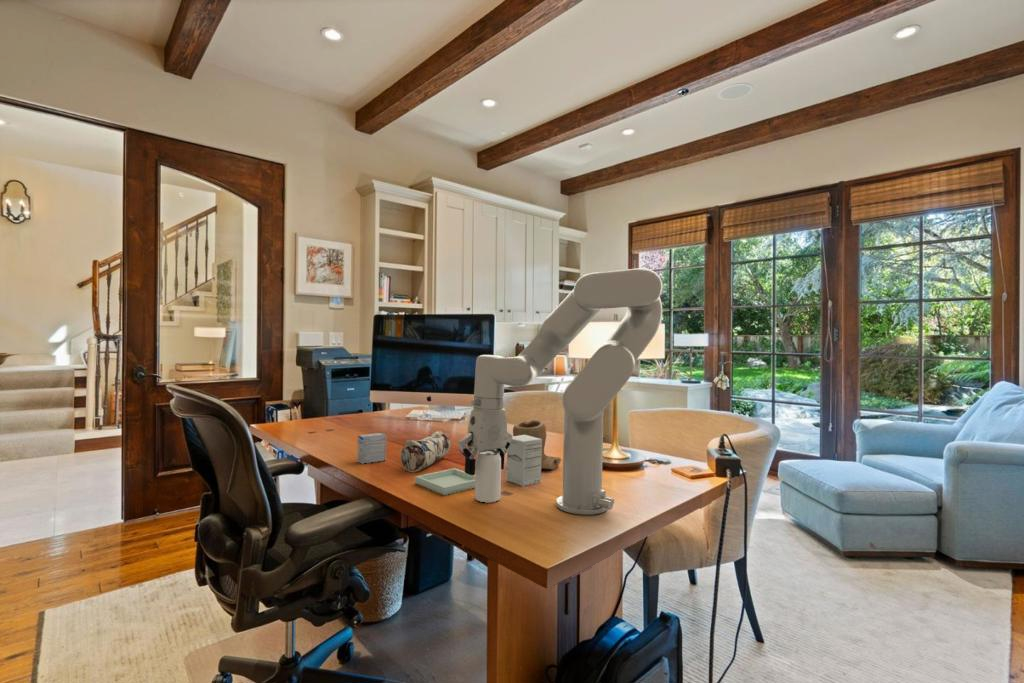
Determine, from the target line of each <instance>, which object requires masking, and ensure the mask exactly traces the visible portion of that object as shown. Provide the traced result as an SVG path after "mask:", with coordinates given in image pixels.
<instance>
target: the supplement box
mask: <svg viewBox="0 0 1024 683" xmlns="http://www.w3.org/2000/svg"><path fill="white" fill-rule="evenodd" d="M512 436H513V435H512ZM541 457H542V439H539V438H536V437H532V436H528V435H519V436H513V437H512V440H511V442H510V446H509V447H508V449H507V453H506V474H505V475H506V479H505V480H506V482H507V481H508V482H511V483H513V484H516V485H519V486H521V487H526V486H525V485H527V486H530V485H529V484H531V485H534V484H533V483H536V484H539V483H538V482H540V483H542V469H541Z"/></svg>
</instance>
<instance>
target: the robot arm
mask: <svg viewBox="0 0 1024 683" xmlns="http://www.w3.org/2000/svg"><path fill="white" fill-rule="evenodd" d="M662 292H663V281H662V280H661V277H660V275H659V274H658V273H657V272H655V271H654V270H652V269H650V268H645V267H644V268H643V267H640V268H639V267H638V268H629V269H618V270H609V271H598V272H590V273H586V274H584V275H581V276H580V277H579V278H578V279H577V280H576V282H575V284H574V286H573V289H572V290H571V291H570V292H569V293H568V294H567V295H566V297H565V298H564V299H563V300H562V301H561V302H560V303H559V304H558V305H557V306H556V307H555V308H554V309H553V310H552V312H550V314H548V315H547V316H546V318H545V319H544V321H543V322H542V324H541V327H540V329H539V331H538V332H537V334H536V335H535V337H533V339H532V340H531V341H529V342H530V343H528V344H527V346H525V348H524V349H523V350H522V351H521V352H520V353H519V354H518V355H517V356H511V357H510V356H509V357H507V356H506V357H504V356H501V355H498V354H497V355H495V354H494V355H493V354H481V355H478V356H477V357H476V360H475V371H474V372H475V373H474V374H475V376H474V388H473V390H474V391H473V399H472V400H471V402H470V404H471V406H473V408H472V409H471V412H470V415H469V420H468V425H467V433H466V435H465V436H463V437H462V438H461V439H460V440H458V442H457V445H458V448H459V450H460V451H459V452H460V453H461V454H462V455H463V458H464V459H465V460H464V471H465V473H467V474H469V475H475V469H476V456H477V455H478V451H489V450H497V451H499V452H500V453H499V454H500V457H501V471H502V470H504V468H505V455H507V449H508V447H509V446H510V442H511V440H512V437H513V434H511V433H509V432H508V421H507V420H508V419H507V413H506V412H507V411H506V409H505V408H504V399H505V398H504V397H505V396H504V394H505V386H508V387H509V386H510V387H514V388H523V387H525V386H528V385H529V384H530V383H531V382H533V381H534V380H535V379H536V378H537V377H538V376H539V375H540V374H541V373H542V372H543V371H544V370H545V369H546V367H547V366H548V365H549V364H550V363H551V362H552V361H553V360H554V359H555V358H556V357H557V356H558V355H559V354H560V353H561V352H562V351H564V349H566V348H567V347H568V346H569V344H571V343H572V341H574V340H575V338H576V337H578V335H579V334H580V333H581V332H582V331H583V330H584V329H585V328H586V327H587V326H588V324H590V322H592V321H593V319H595V317H596V316H597V315H598V314H599V313H600V312H601V311H602V310H604V309H619V308H626V313H625V315H624V317H623V318H622V320H621V321H620V322H619V323H618V325H617V326H616V328H615V329H614V331H613V332H612V333H611V334H610V335H609V336H608V338H607V339H606V340H605V341H604V342H603V343H602V344H601V345H599V347H598V348H596V350H595V352H594V353H593V354H592V355H591V357H590V358H589V360H588V361H587V362H586V364H585V365H584V366H583V367H582V369H581V370H580V371H579V372H578V373H577V374H576V376H575V377H574V378H573V379H572V381H570V382H569V383H568V385H567V386H566V388H565V389H564V392H563V394H562V407H563V409H564V416H563V417H564V420H563V422H564V424H563V448H562V450H563V453H562V455H563V457H562V495H560V496H558V497H557V498H556V500H555V505H556V507H557V508H558V509H559V510H561V511H563V512H566V513H569V514H574V515H581V516H582V515H583V516H585V515H586V516H589V515H599V514H601V513H605V512H606V511H607V510H610V511H611V510H612V509H613V507H614V505H615V504H614V503H615V499H614V498H611V497H607V496H606V495H607V493H606V490H605V489H603V453H604V452H603V451H604V450H603V447H604V414H605V412H604V411H605V410H606V408H607V407H608V406H609V404H610V403H611V402H612V400H614V399H615V397H616V396H617V395H618V394H619V392H620V391H621V390H622V389H623V387H624V386H625V385H626V384H627V382H628V381H629V379H630V378H631V376H632V375H633V373H634V369H635V364H636V362H637V360H638V359H639V358H640V356H641V355H642V354H643V352H645V350H646V348H647V347H648V346H649V345H650V343H651V341H652V340H653V338H654V337H655V336H656V335H657V333H658V331H659V329H660V327H661V323H662V319H663V318H662V317H663V305H662V300H661V295H662Z"/></svg>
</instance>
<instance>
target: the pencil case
mask: <svg viewBox="0 0 1024 683" xmlns="http://www.w3.org/2000/svg"><path fill="white" fill-rule="evenodd" d="M450 449H451V439H450V438H449V436H448V435H447V434H446V433H443V430H438V431H434V432H433V433H431V434H429V435H428V436H426V437H425V438H422V439H420V440H414V439H408V440H407V439H406V440H405V445H404V446H403V447H402V449H401V450H400V462H401V465H402V467H403V469H404V470H406V471H407V472H411V473H418V472H419V471H422V470H424V469H426V468H427V467H429V466H430V465H433V464H434V463H435V462H437V461H438V460H440V459H442V458H444V457H445V456H446V455H448V453H449V452H450Z"/></svg>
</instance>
